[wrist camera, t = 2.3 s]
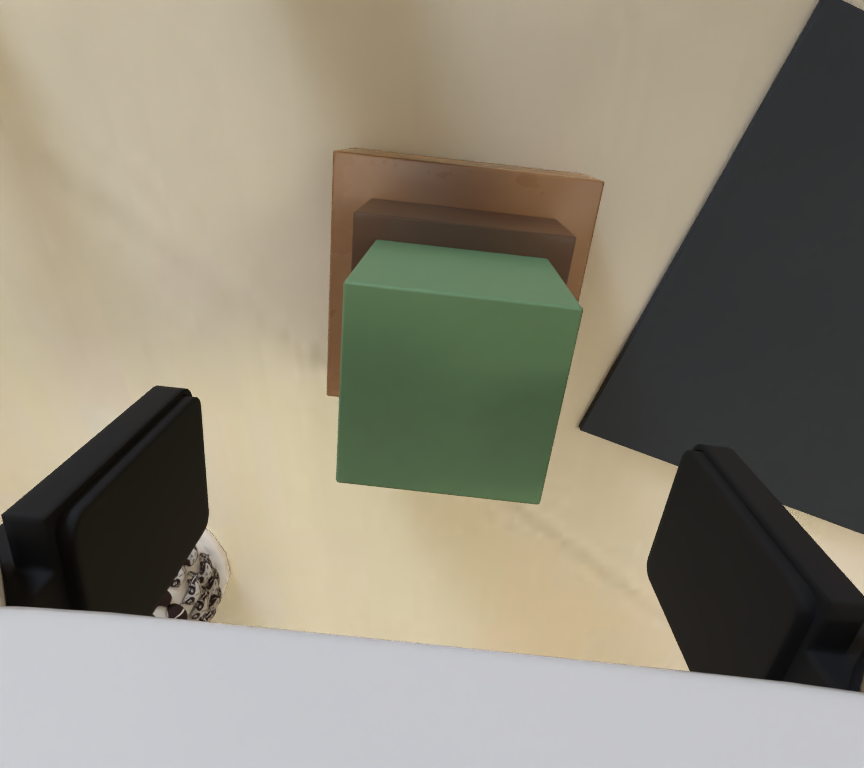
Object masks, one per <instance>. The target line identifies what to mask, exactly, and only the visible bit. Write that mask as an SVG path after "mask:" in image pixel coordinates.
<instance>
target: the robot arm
mask: <svg viewBox="0 0 864 768" xmlns="http://www.w3.org/2000/svg"><path fill="white" fill-rule="evenodd" d="M1 516H2V519H3V524H1V525H0V768H864V596H863V594H862V593H861V592H860V591H859V590H858V589H857V588H856V587H855V586H854V584H853V583H852V582H851V581H850V580H849V579H848V578H847V577H846V575H845V574H844V573H843V572H842V571H841V570H840V569H839V568H838V567H837V565H836V564H835V563H834V562H833V561H832V560H831V559H830V558H829V556H828V555H827V554H826V553H825V552H824V551H823V550H822V549H821V548H820V546H819V545H818V544H817V543H816V542H815V541H814V540H813V539H812V537H811V536H810V535H809V534H808V533H807V532H806V531H805V530H804V529H803V527H802V526H801V525H800V524H799V523H798V522H797V521H796V520H795V518H794V517H793V516H792V515H791V514H790V513H789V512H788V511H787V510H786V508H785V507H784V506H783V505H782V504H781V503H780V502H779V501H778V499H777V498H776V497H775V496H774V495H773V494H772V493H771V492H770V491H769V489H768V488H767V487H766V486H765V485H764V484H763V483H762V482H761V480H760V479H759V478H758V477H757V476H756V475H755V474H754V473H753V472H752V470H751V469H750V468H749V467H748V466H747V465H746V464H745V463H744V461H743V460H742V459H741V458H740V457H739V456H738V455H737V454H736V453H735V451H734V450H733V449H731V448H730V447H722V446H713V445H704V444H698V445H696V446H695V447H694V448H693V449H692V451H691V450H687V451H685V452H684V454H683V456H682V458H681V461H680V464H679V467H678V470H677V473H676V476H675V479H674V482H673V485H672V488H671V491H670V494H669V497H668V500H667V503H666V506H665V509H664V512H663V515H662V518H661V521H660V524H659V527H658V530H657V533H656V536H655V539H654V542H653V545H652V548H651V550H650V553H649V556H648V560H647V573H648V577H649V580H650V582H651V585H652V587H653V589H654V591H655V594H656V596H657V598H658V600H659V603H660V605H661V607H662V609H663V612H664V614H665V616H666V618H667V621H668V623H669V625H670V627H671V630H672V632H673V634H674V636H675V639H676V641H677V643H678V645H679V648H680V650H681V652H682V654H683V657H684V659H685V661H686V663H687V666H688V668H689V670H690V671H681V670H672V669H663V668H653V667H644V666H635V665H626V664H616V663H607V662H597V661H587V660H577V659H568V658H558V657H548V656H538V655H528V654H519V653H509V652H499V651H489V650H480V649H470V648H460V647H450V646H441V645H431V644H421V643H411V642H402V641H392V640H382V639H373V638H363V637H353V636H344V635H334V634H324V633H315V632H305V631H295V630H286V629H275V628H265V627H255V626H244V625H234V624H224V623H214V622H203V621H193V620H183V619H173V618H162V617H152V614H153V613H154V611H155V609H156V608H157V606H158V605H159V603H160V601H161V600H162V598H163V597H164V595H165V593H166V592H167V590H168V589H169V587H170V585H171V584H172V582H173V581H174V579H175V578H176V576H177V574H178V573H179V571H180V570H181V568H182V566H183V565H184V563H185V562H186V560H187V558H188V557H189V555H190V554H191V552H192V550H193V549H194V547H195V546H196V544H197V542H198V541H199V539H200V538H201V536H202V534H203V533H204V531H205V529H206V526H207V522H208V517H209V508H208V494H207V481H206V467H205V454H204V440H203V427H202V413H201V403H200V400H199V399H198V398H197V397H192V394H191V392H190V391H189V390H188V389H184V388H175V387H165V386H155V387H153V388H152V389H151V390H149V391H148V392H147V393H146V394H145V395H144V396H142V397H141V398H140V399H139V400H138V401H136V402H135V403H134V404H133V405H132V406H130V407H129V408H128V409H127V410H126V411H124V412H123V413H122V414H121V415H120V416H119V417H117V418H116V419H115V420H114V421H113V422H111V423H110V424H109V425H108V426H107V427H105V428H104V429H103V430H102V431H101V432H99V433H98V434H97V435H96V436H95V437H94V438H92V439H91V440H90V441H89V442H88V443H86V444H85V445H84V446H83V447H82V448H80V449H79V450H78V451H77V452H76V453H75V454H73V455H72V456H71V457H70V458H69V459H67V460H66V461H65V462H64V463H63V464H61V465H60V466H59V467H58V468H57V469H55V470H54V471H53V472H52V473H51V474H50V475H48V476H47V477H46V478H45V479H44V480H42V481H41V482H40V483H39V484H38V485H36V486H35V487H34V488H33V489H32V490H31V491H29V492H28V493H27V494H26V495H25V496H23V497H22V498H21V499H20V500H19V501H17V502H16V503H15V504H14V505H13V506H11V507H10V508H9V509H8V510H7V511H6V512H4V513H3V514H2V515H1Z"/></svg>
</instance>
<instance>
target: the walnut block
mask: <svg viewBox="0 0 864 768" xmlns="http://www.w3.org/2000/svg"><path fill="white" fill-rule="evenodd" d="M376 240H386V241H395V242H404V243H413V244H422V245H431V246H439V247H448V248H457V249H466V250H475V251H484V252H493V253H501V254H510V255H519V256H528V257H537V258H546V259H548V260H549V262H550V263H551V264H552V266H553V267H554V269H555V270H556V271H557V273H558V274H559V276H560V277H561V279H562V280H563V281H564V283H565V284H566V286H567V281H568V276H569V272H570V267H571V262H572V257H573V252H574V247H575V243H576V237H575V236H574V235H573V234H572V233H571V232H570V231H569V230H568V229H566V228H565V227H564V226H563V225H562V224H561V223H560V222H559V221H557V220H556V219H552V218H543V217H534V216H526V215H517V214H508V213H499V212H490V211H481V210H473V209H464V208H455V207H446V206H437V205H428V204H420V203H411V202H402V201H393V200H384V199H375V198H372V199H370V200H369V201H368V202H366V203H365V204H364V205H362V206H361V207H360V208H359V209H357V210H356V211H355V212H354V213H353V234H352V257H351V272H352V271H353V270H354V268H355V267H356V266H357V265H358V263H359V262H360V261H361V259H362V258H363V257H364V255H365V254H366V253H367V251H368V250H369V249H370V247H371V246H372V245H373V244H374V242H375V241H376Z"/></svg>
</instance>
